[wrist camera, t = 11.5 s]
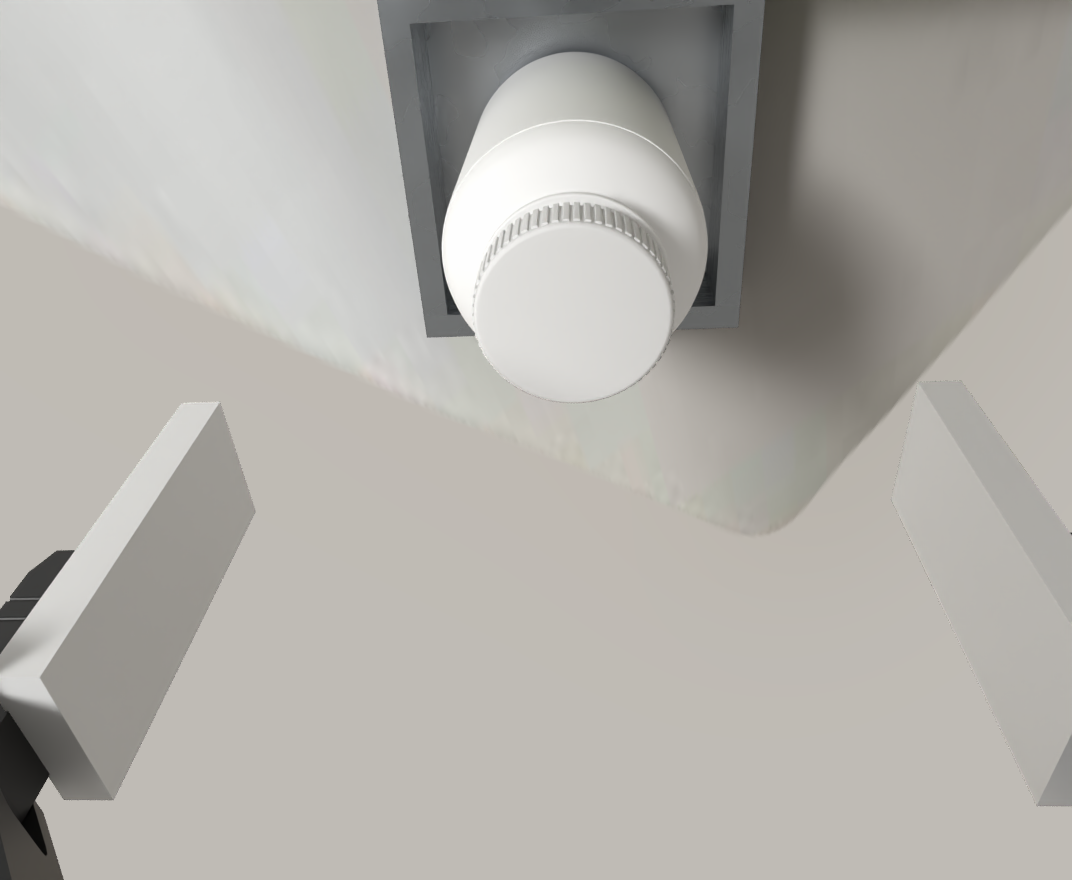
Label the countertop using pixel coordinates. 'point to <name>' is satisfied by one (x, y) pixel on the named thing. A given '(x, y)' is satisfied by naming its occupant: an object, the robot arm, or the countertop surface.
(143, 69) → the countertop surface
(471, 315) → the pill bottle
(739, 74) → the grey square tray
